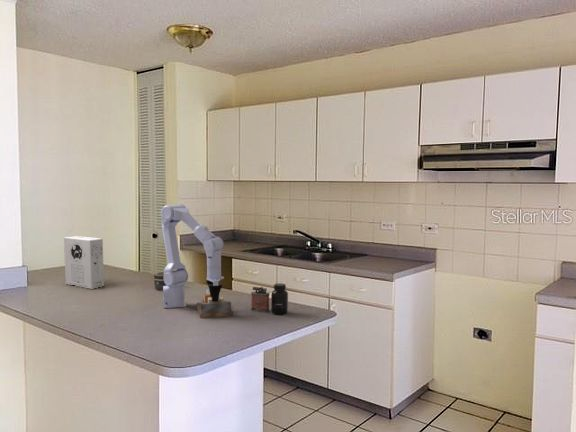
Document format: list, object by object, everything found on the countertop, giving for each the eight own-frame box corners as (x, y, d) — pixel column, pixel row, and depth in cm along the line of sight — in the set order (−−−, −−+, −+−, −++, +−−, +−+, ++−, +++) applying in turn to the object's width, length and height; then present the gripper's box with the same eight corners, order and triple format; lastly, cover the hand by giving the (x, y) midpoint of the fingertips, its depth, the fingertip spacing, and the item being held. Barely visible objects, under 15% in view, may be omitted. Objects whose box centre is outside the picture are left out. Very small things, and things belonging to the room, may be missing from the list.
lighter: (270, 310, 207) (270, 286, 206) (267, 312, 203) (267, 288, 203) (253, 308, 209) (252, 285, 209) (249, 310, 206) (249, 287, 205)
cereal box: (104, 286, 251) (102, 238, 249) (91, 289, 245) (89, 240, 243) (78, 282, 263) (76, 235, 261) (65, 284, 256) (63, 237, 254)
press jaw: (205, 303, 212) (205, 295, 212) (202, 296, 224) (202, 289, 223) (219, 302, 213) (218, 294, 213) (216, 295, 225) (216, 288, 225)
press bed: (199, 317, 195) (199, 304, 195) (195, 300, 224) (194, 288, 223) (232, 315, 198) (232, 302, 198) (223, 298, 227) (223, 286, 227)
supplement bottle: (275, 316, 198) (275, 286, 197) (268, 312, 204) (268, 283, 203) (290, 314, 201) (290, 285, 200) (283, 310, 207) (283, 282, 206)
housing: (208, 310, 200) (208, 296, 200) (207, 308, 204) (207, 294, 204) (223, 309, 202) (223, 296, 202) (222, 307, 206) (222, 293, 205)
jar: (150, 290, 244) (149, 274, 244) (162, 285, 254) (161, 271, 253) (166, 291, 241) (166, 276, 240) (178, 287, 250) (178, 272, 249)
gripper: (225, 269, 196) (226, 302, 197) (221, 263, 210) (221, 294, 211) (208, 270, 194) (208, 304, 195) (205, 263, 208) (205, 295, 209)
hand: (214, 299), depth 203 cm, fingers open, 7 cm apart
